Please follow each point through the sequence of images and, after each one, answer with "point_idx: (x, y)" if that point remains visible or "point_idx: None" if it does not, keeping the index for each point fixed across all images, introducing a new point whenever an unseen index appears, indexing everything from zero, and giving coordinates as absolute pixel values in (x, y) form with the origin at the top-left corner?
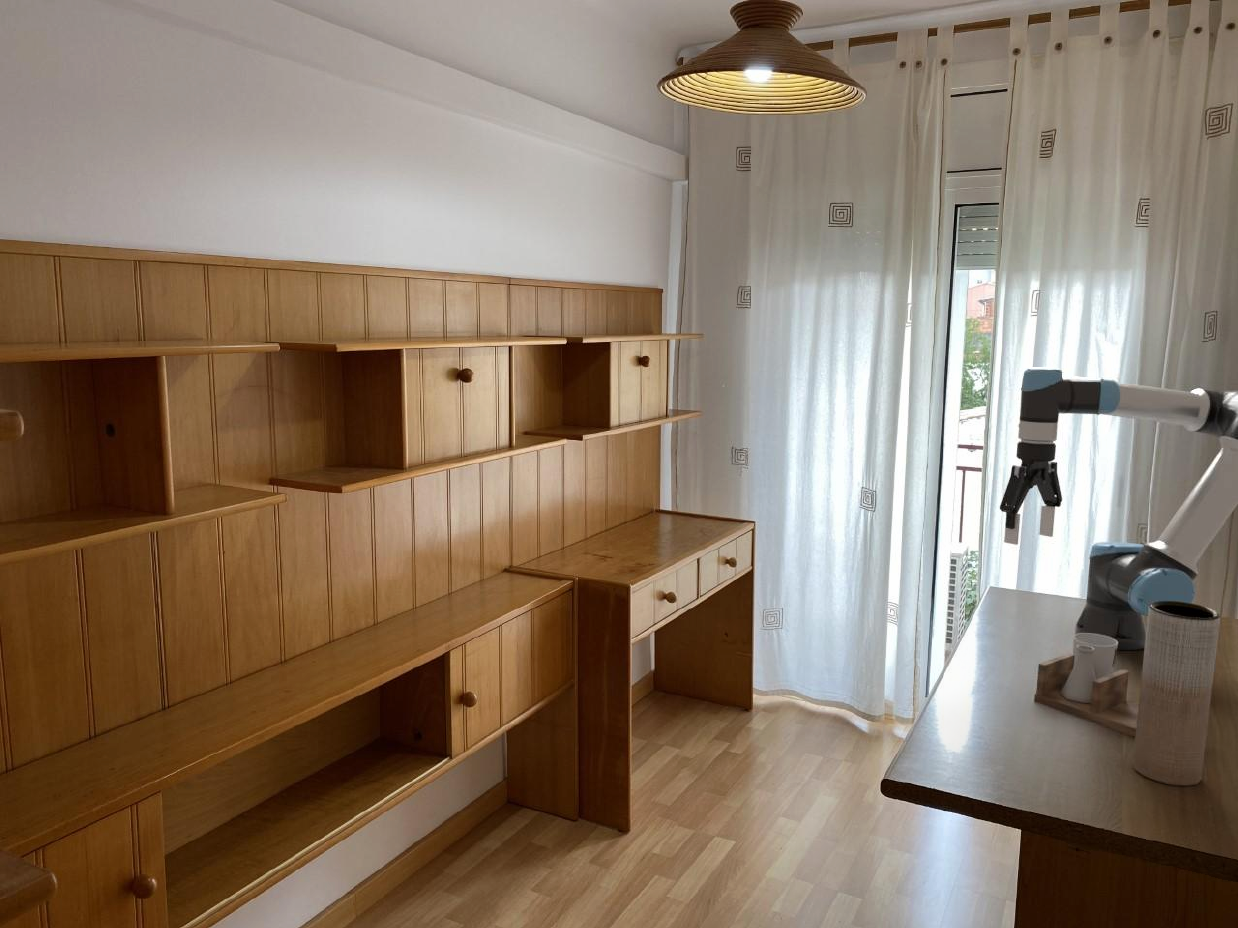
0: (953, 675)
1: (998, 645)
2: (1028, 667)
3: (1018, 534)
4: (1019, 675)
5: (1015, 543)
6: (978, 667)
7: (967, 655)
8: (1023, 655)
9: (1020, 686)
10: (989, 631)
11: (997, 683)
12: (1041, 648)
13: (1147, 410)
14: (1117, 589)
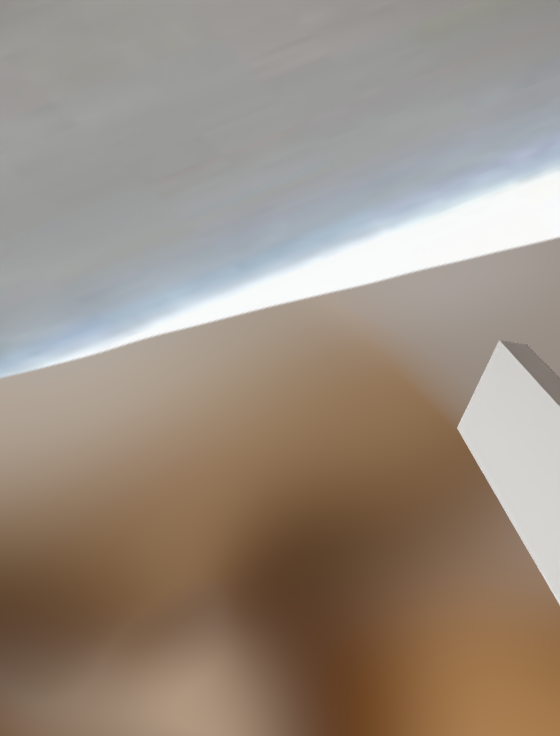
0: (504, 242)
1: (164, 253)
2: (297, 100)
3: (547, 389)
4: (393, 94)
5: (528, 353)
6: (399, 218)
7: (319, 280)
8: (194, 158)
9: (493, 51)
10: (61, 321)
11: (504, 121)
12: (74, 138)
13: None
14: None
